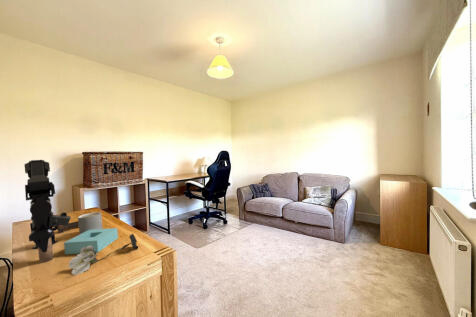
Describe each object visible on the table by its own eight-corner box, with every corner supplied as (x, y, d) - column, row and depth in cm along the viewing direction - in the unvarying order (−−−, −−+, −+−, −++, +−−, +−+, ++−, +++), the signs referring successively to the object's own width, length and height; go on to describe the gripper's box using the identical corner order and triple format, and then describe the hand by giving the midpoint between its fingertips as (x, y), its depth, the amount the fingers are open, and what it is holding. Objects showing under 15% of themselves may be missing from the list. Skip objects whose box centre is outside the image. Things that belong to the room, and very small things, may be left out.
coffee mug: (105, 232, 108) (103, 213, 108) (82, 238, 101) (80, 219, 101) (97, 227, 117) (95, 210, 117) (75, 233, 109) (74, 215, 109)
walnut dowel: (36, 263, 79) (34, 238, 79) (46, 257, 83) (43, 233, 83) (46, 262, 79) (44, 237, 79) (56, 257, 83) (53, 233, 83)
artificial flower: (142, 254, 84) (139, 233, 81) (73, 287, 69) (66, 264, 66) (134, 242, 90) (131, 223, 87) (70, 270, 75) (64, 248, 72)
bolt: (90, 227, 124) (59, 235, 112) (87, 222, 127) (56, 229, 114) (92, 219, 123) (60, 227, 110) (89, 214, 125) (57, 221, 113)
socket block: (65, 254, 85) (63, 242, 85) (89, 239, 99) (88, 229, 99) (98, 252, 85) (97, 240, 85) (118, 238, 99) (117, 227, 99)
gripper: (67, 211, 78) (71, 250, 79) (68, 203, 93) (71, 237, 93) (26, 218, 71) (31, 262, 72) (34, 209, 86) (37, 245, 86)
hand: (45, 250), depth 81 cm, fingers closed on walnut dowel, 4 cm apart
